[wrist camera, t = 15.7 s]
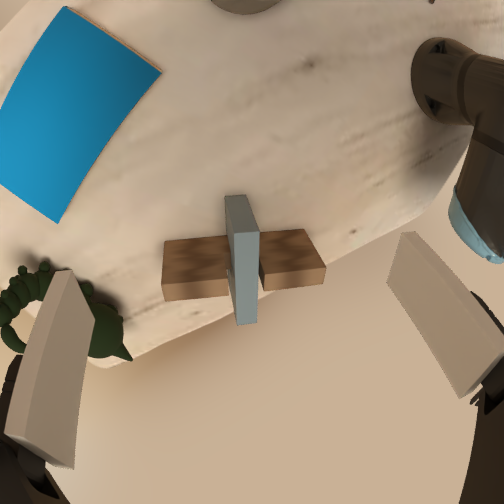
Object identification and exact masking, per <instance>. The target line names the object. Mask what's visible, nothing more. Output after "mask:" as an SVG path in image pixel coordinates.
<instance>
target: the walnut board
mask: <svg viewBox="0 0 504 504" xmlns="http://www.w3.org/2000/svg"><path fill="white" fill-rule="evenodd" d="M226 269H231V250H230V245H229V241H228V236H227V235H226V236H215V237H204V238H193V239H183V240H173V241H165V243H164V254H163V266H162V279H161V286H162V291H163V295H164V299H165V301H177V300H187V299H198V298H208V297H218V296H228V295H229V291H228V276H227V271H226ZM325 272H326V266H325V264H324V262H323V261H322V259H321V257H320V255H319V254H318V252H317V250H316V248H315V247H314V245H313V243H312V242H311V240H310V238H309V237H308V235H307V233H306V231H305V230H304V229H298V230H285V231H273V232H261V233H260V235H259V270H258V274H259V277H260V280H261V283H262V287H263V290H264V291H272V290H280V289H288V288H296V287H304V286H311V285H318V284H323V282H324V277H325Z"/></svg>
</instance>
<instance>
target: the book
mask: <svg viewBox="0 0 504 504" xmlns="http://www.w3.org/2000/svg"><path fill="white" fill-rule="evenodd" d="M161 72H162V70H161V69H159V68H158V67H157V66H155V65H154V64H153V63H151V62H150V61H149V60H147V59H146V58H144V57H143V56H142V55H140V54H139V53H138V52H136V51H135V50H133V49H132V48H131V47H129V46H128V45H126V44H125V43H123V42H122V41H121V40H119V39H118V38H116V37H115V36H113V35H112V34H110V33H109V32H107V31H106V30H104V29H103V28H101V27H100V26H98V25H97V24H95V23H94V22H92V21H91V20H89V19H88V18H86V17H85V16H83V15H81V14H80V13H78V12H77V11H75V10H73V9H72V8H69V7H67V6H63V7H62V8H61V10H60V11H59V12H58V14H57V15H56V16H55V18H54V19H53V20H52V22H51V23H50V25H49V26H48V27H47V29H46V30H45V32H44V33H43V35H42V36H41V38H40V39H39V41H38V42H37V44H36V45H35V47H34V48H33V50H32V51H31V53H30V55H29V56H28V58H27V60H26V61H25V63H24V65H23V66H22V68H21V70H20V72H19V74H18V75H17V77H16V79H15V81H14V83H13V85H12V87H11V89H10V90H9V92H8V94H7V96H6V99H5V101H4V103H3V105H2V107H1V109H0V184H1V185H2V186H4V187H5V188H7V189H8V190H9V191H11V192H12V193H13V194H15V195H16V196H18V197H19V198H20V199H22V200H23V201H25V202H26V203H27V204H29V205H30V206H32V207H33V208H35V209H36V210H38V211H39V212H41V213H42V214H43V215H45V216H46V217H48V218H49V219H51V220H52V221H54V222H55V223H57V224H58V223H59V221H60V219H61V217H62V216H63V214H64V212H65V210H66V208H67V206H68V205H69V203H70V201H71V199H72V197H73V196H74V194H75V192H76V191H77V189H78V187H79V186H80V184H81V182H82V181H83V179H84V177H85V176H86V174H87V172H88V171H89V169H90V168H91V166H92V165H93V163H94V161H95V160H96V158H97V157H98V155H99V154H100V152H101V151H102V149H103V148H104V146H105V145H106V144H107V142H108V141H109V139H110V138H111V136H112V135H113V134H114V132H115V131H116V129H117V128H118V127H119V125H120V124H121V123H122V121H123V120H124V119H125V117H126V116H127V115H128V113H129V112H130V111H131V110H132V108H133V107H134V106H135V104H136V103H137V102H138V101H139V99H140V98H141V97H142V96H143V95H144V93H145V92H146V91H147V90H148V88H149V87H150V86H151V85H152V84H153V83H154V81H155V80H156V79H157V78H158V77H159V76H160V75H161Z"/></svg>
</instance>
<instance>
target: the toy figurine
mask: <svg viewBox="0 0 504 504" xmlns="http://www.w3.org/2000/svg"><path fill="white" fill-rule="evenodd" d="M49 269H50V265H49V264H48V263H47V262H45V261H44V262H41V263H40V265H39V271H38V272H35V273H34V274H32V273H27V268H26V267H25V266H24V265H22V266H20V267H19V268H18V274H19V275H16V276H15V277H11V278H10V280H9V283H10V285H9V287H8V289H6V290H3V291H1V297H0V327H2V328H1V338H2V340H3V342H4V343H5V344H6V345H7V346H8V347H9V348H10V349H12V350H13V351H15V352H18V353H23V354H24V352H25V348H26V345H27V344H25V343H24V342H22V341H21V340H20V339H19V337H18V336H17V334H16V332H15V330H14V329H13V328H12V327H11V326H10V325H9V324H10V323H11V321H12V319H13V318H15V317H16V316H18V315H19V313H20V310H21V309H23V308H25V307H26V306H27V305H28V303H29V302H32V301H35V300H38V301H43V300H44V297H45V295H46V293H47V290H48V288H49V286H50V283H51V281H52V279H53V277H54V275H52V274H51V273H49ZM65 270H67V269H65ZM65 270H63V271H65ZM80 289H81V291H82V293H83V296H84V298H85V300H86V302H87V304H88V306H89V308H90V310H91V312H92V314H93V316H94V318H95V323H94V327H93V332H92V337H91V341H90V346H89V351H88V356H89V357H92V358H106V357H109V356H112V355H113V356H116V357H119V358H122V359H125V360H128V361H133V359H132V357H131V355H130V354H129V352H128V351H127V349H126V347H125V346H124V344H123V335H124V333H123V318H122V316H120V315H118V311H117V308H116V307H115V306H113V305H104V304H101V303H92V301H91V298H90V297H91V296H92V294H93V288H92V286H91V285H90V284H87V283H85V284H82V285H81V286H80Z"/></svg>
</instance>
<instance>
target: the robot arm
mask: <svg viewBox="0 0 504 504" xmlns="http://www.w3.org/2000/svg"><path fill="white" fill-rule="evenodd" d="M411 78H412V87H413V92H414V95H415V98H416V100H417V102H418V104H419V106H420V107H421V109H422V110H423V111H424V113H425V114H426V115H428V116H429V117H430V118H432V119H434V120H436V121H438V122H441V123H443V124H447V125H472V126H474V130H473V134H472V137H471V141H470V144H469V148H468V151H467V154H466V158H465V161H464V164H463V167H462V170H461V172H460V176H459V178H458V181H457V183H456V185H455V186H454V190H453V196H452V199H451V202H450V206H449V209H448V215H449V219H450V221H451V225H452V227H453V228H454V230H455V232H456V233H457V234H458V236H459V237H460V238H461V239H462V240H463V242H464V243H466V245H468V247H470V248H471V249H472V250H473V251H474V252H475V253H477V254H478V255H479V256H481V257H482V258H487V260H488V261H489V262H492V263H495V264H501V263H503V262H504V60H503V59H499V58H495V57H490V56H486V55H481V54H478V53H477V52H475V51H473V50H472V49H470V48H468V47H467V46H465V45H463V44H462V43H460V42H458V41H456V40H453V39H449V38H439V37H438V38H432V39H429V40H427V41H426V42H425V43H423V44H422V45H421V47H420V48H419V49H418V51H417V53H416V55H415V57H414V60H413V64H412V73H411ZM387 284H388V286H389V287H390V288H391V290H392V291H393V293H394V294H395V296H396V297H397V299H398V300H399V301H400V303H401V305H402V306H403V307H404V309H405V311H406V312H407V313H408V315H409V317H410V318H411V320H412V321H413V323H414V324H415V326H416V327H417V329H418V330H419V332H420V334H421V335H422V337H423V338H424V340H425V342H426V343H427V345H428V346H429V348H430V349H431V351H432V353H433V355H434V356H435V358H436V360H437V361H438V363H439V364H440V366H441V368H442V370H443V371H444V373H445V375H446V377H447V378H448V380H449V382H450V383H451V385H452V387H453V389H454V391H455V392H456V394H457V396H458V398H459V399H460V398H462V397H464V396H466V395H467V394H469V393H471V392H473V391H474V390H475V388H476V387H477V386H478V385H479V384H480V383H481V384H482V385H483V388H482V389H481V390H480V391H479V392H478V393H477V394H476V395H475V396H474V397H473V398H472V399H471V401H470V404H473V403H474V402H475V401H476V400H477V399H478V398H479V400H478V401H477V402H476V404H475V406H478V413H477V421H476V428H475V435H474V441H473V446H472V451H471V457H470V462H469V466H468V470H467V475H466V479H465V483H464V487H463V490H462V494H461V497H460V501H459V504H504V327H503V326H502V324H501V323H500V322H499V320H498V319H497V318H496V317H495V315H494V314H493V312H492V311H491V310H489V307H488V306H487V305H486V304H485V302H484V301H483V300H482V299H481V298H480V297H479V296H477V295H476V294H475V293H473V292H472V291H469V290H468V289H467V288H466V287H465V285H464V284H463V283H462V282H461V281H460V279H459V278H458V277H457V276H456V275H455V274H454V273H453V271H452V270H451V269H450V268H449V267H448V266H447V265H446V264H445V262H444V261H442V259H441V258H440V257H439V256H438V255H437V254H436V253H435V252H434V251H433V249H431V248H430V246H429V245H428V244H427V243H426V242H425V241H424V240H423V239H422V238H421V237H420V236H419V235H418V234H417V233H416V232H415V231H414V232H405V233H402V234H401V237H400V240H399V244H398V247H397V251H396V254H395V258H394V261H393V264H392V267H391V270H390V273H389V276H388V279H387ZM94 323H95V318H94V316H93V314H92V312H91V310H90V308H89V306H88V304H87V302H86V300H85V298H84V296H83V293H82V291H81V289H80V287H79V285H78V282H77V280H76V278H75V275H74V273H73V271H72V270H65V271H56V272H55V274H54V277H53V279H52V281H51V283H50V286H49V288H48V290H47V293H46V295H45V297H44V300H43V302H42V305H41V307H40V310H39V312H38V315H37V317H36V320H35V323H34V325H33V328H32V331H31V334H30V337H29V340H28V342H27V345H26V348H25V352H24V355H16V357H15V358H14V359H13V361H12V362H11V364H10V365H9V367H8V371H7V374H6V377H5V382H4V384H3V388H2V393H1V395H0V504H70V503H69V501H68V500H67V498H66V497H65V495H64V494H63V492H62V491H61V490H60V488H59V486H58V485H57V484H56V482H55V480H54V479H53V477H52V475H51V474H50V472H49V471H48V470H47V469H46V468H45V462H48V463H50V464H51V465H53V466H55V467H60V468H67V469H73V470H74V460H75V459H74V458H75V445H76V433H77V424H78V415H79V407H80V399H81V392H82V385H83V379H84V373H85V367H86V362H87V357H88V351H89V346H90V341H91V337H92V332H93V327H94Z"/></svg>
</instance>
